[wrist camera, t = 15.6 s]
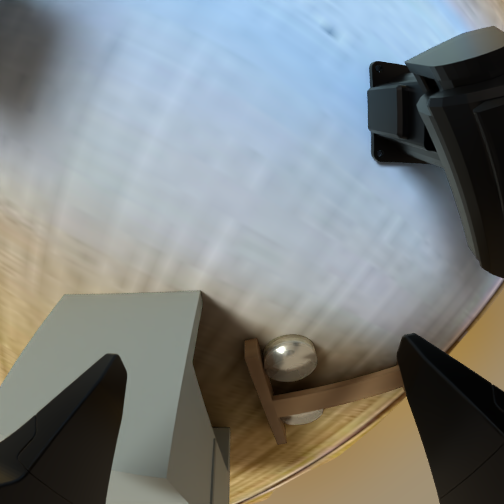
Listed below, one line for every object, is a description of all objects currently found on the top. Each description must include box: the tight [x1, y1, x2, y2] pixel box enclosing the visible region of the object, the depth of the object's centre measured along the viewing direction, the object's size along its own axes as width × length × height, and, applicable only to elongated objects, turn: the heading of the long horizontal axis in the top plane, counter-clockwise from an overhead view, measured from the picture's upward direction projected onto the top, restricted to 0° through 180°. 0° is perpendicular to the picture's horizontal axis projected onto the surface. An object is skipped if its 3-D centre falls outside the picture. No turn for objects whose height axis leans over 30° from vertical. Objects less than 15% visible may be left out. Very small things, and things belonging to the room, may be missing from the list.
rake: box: [245, 338, 406, 445], centre depth 22 cm, size 16×15×10 cm
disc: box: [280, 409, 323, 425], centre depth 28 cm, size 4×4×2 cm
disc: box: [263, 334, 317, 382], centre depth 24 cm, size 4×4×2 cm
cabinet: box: [0, 291, 230, 504], centre depth 20 cm, size 12×20×14 cm, turn 4°
